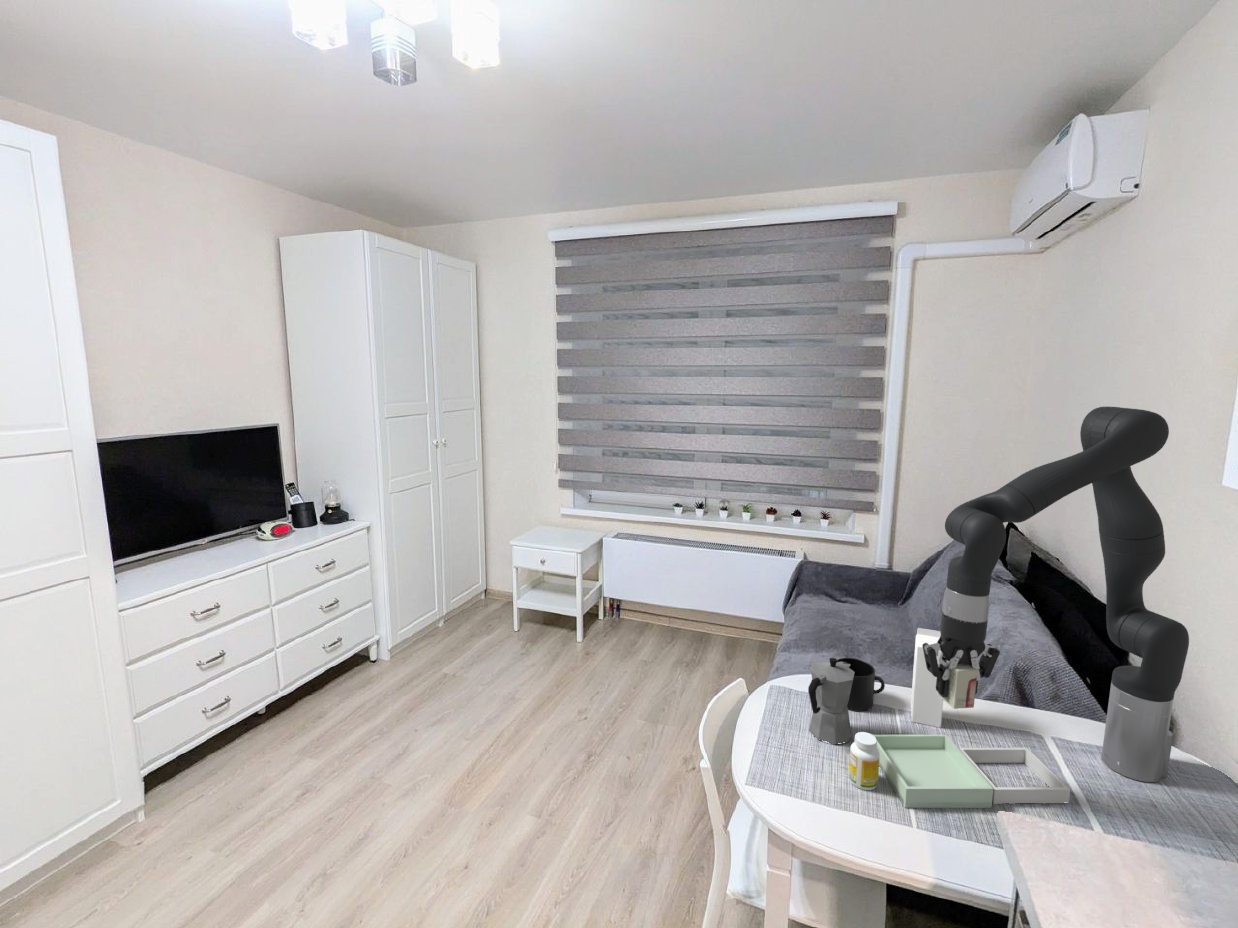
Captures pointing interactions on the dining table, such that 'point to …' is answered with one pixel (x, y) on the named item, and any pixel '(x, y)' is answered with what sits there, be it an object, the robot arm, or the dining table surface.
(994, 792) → the frame
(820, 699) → the coffeepot
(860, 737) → the supplement bottle
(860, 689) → the mug
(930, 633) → the milk
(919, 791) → the bin
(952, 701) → the small box
